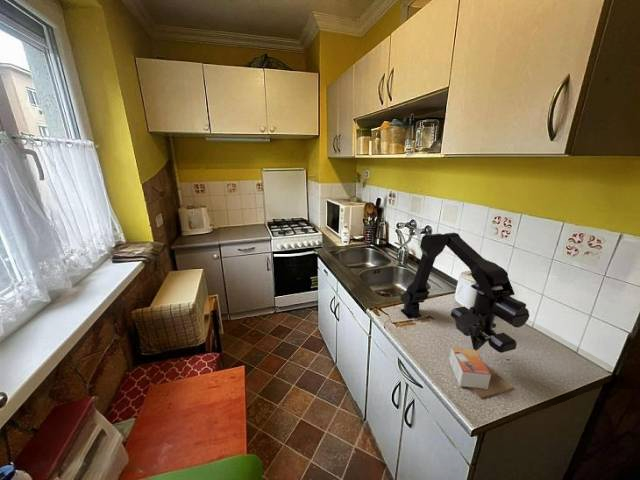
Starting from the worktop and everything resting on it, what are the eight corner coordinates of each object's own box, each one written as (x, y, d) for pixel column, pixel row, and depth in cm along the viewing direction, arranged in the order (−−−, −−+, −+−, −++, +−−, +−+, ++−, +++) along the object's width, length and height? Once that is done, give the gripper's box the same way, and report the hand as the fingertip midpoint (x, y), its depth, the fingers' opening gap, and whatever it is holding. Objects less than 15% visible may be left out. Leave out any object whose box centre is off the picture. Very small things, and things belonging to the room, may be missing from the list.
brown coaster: (454, 372, 83) (455, 370, 83) (484, 364, 86) (484, 362, 86) (481, 399, 74) (481, 397, 74) (512, 388, 77) (513, 387, 77)
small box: (476, 349, 84) (492, 375, 74) (473, 363, 86) (488, 390, 76) (450, 347, 86) (462, 371, 76) (448, 360, 87) (459, 386, 77)
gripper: (440, 295, 83) (434, 335, 88) (491, 331, 66) (480, 378, 71) (468, 290, 86) (460, 329, 91) (524, 323, 69) (510, 369, 74)
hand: (475, 349), depth 82 cm, fingers closed
